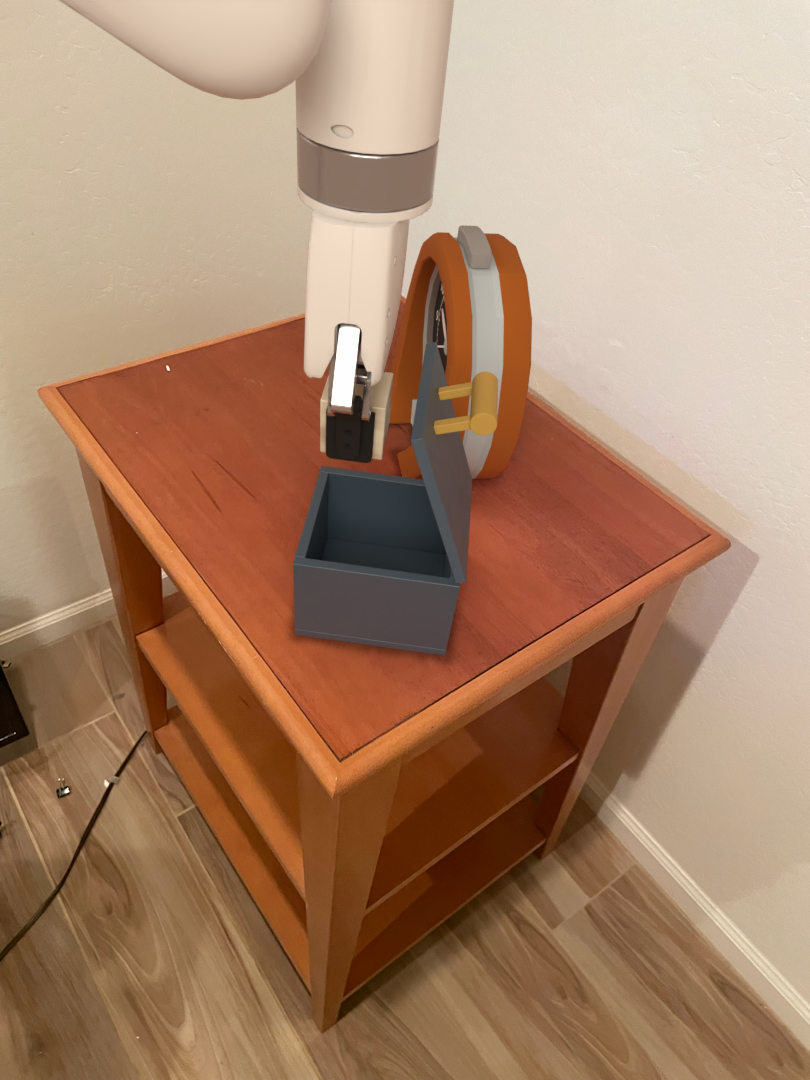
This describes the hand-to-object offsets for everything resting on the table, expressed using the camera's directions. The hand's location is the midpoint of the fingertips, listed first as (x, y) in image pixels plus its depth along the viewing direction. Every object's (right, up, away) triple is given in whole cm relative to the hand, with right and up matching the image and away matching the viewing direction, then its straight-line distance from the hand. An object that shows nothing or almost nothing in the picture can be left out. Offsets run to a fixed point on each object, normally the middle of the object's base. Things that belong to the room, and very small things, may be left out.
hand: (354, 433), depth 53 cm
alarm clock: (+7, +4, +29) cm, 30 cm away
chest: (+1, -12, +12) cm, 17 cm away
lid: (+6, -2, +1) cm, 7 cm away
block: (0, 0, 0) cm, 0 cm away
